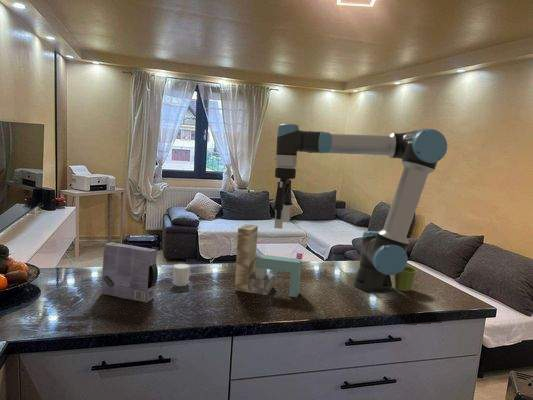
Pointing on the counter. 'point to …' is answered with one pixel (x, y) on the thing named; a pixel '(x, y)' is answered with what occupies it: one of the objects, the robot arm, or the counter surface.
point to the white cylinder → (181, 274)
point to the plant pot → (405, 279)
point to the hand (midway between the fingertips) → (282, 225)
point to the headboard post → (249, 263)
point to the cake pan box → (129, 272)
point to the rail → (280, 265)
